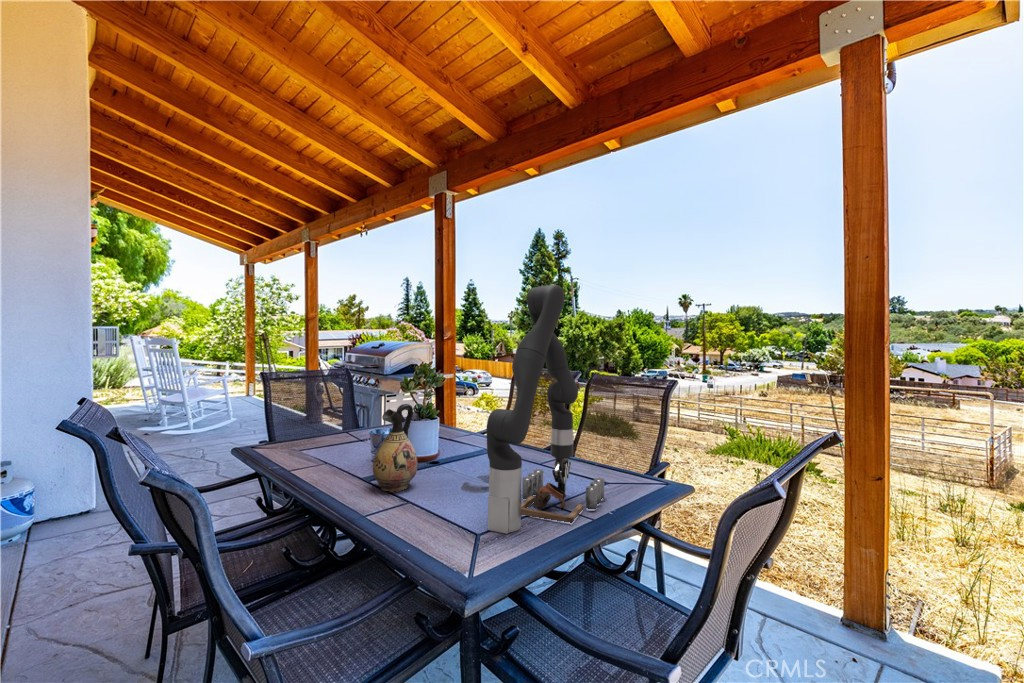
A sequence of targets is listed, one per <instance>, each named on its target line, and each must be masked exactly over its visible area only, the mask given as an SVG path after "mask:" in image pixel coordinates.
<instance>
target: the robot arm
mask: <svg viewBox="0 0 1024 683" xmlns="http://www.w3.org/2000/svg"><path fill="white" fill-rule="evenodd" d="M526 305H527V309H528V312H529V316H530V317H531V320H532V323H533V327H532V328H531V329H530V330H529V331H528V332H527V333H526V335H525V336H524V337H523V338H522V340H520V342H519V344H518V345H517V348H516V351H515V353H514V357H513V360H512V364H511V367H512V368H511V369H512V374H513V375H512V376H513V380H514V383H515V387H516V398H515V403H514V406H513V409H505V408H496V409H494V410H492V411H491V412H490V414H489V416H488V417H487V423H486V454H487V458H488V461H489V467H488V468H489V471H488V472H489V477H488V480H489V482H488V483H489V484H488V497H487V498H488V499H487V503H488V504H487V505H488V506H487V507H488V508H487V530H488V531H490V532H491V531H492V532H496V533H501V534H506V535H508V534H509V533H513V532H514V533H515V532H516V531H518V530H520V529H521V525H522V524H521V520H522V519H521V518H522V516H521V503H522V470H523V468H522V467H523V465H522V464H523V462H522V460H523V459H522V456H521V455H520V454H519V453H517V451H515V450H514V449H513V448H512V446H511V445H520V444H521V443H522V444H523V442H524V440H526V437H527V435H528V432H529V428H530V424H531V418H532V414H533V409H534V408H533V407H534V402H535V397H536V395H537V394H536V393H537V389H538V386H539V381H540V380H541V375H542V372H543V370H544V366H545V365H546V370H547V374H548V376H550V377H551V378H553V379H555V380H556V381H553V382H551V383H550V384H549V386H548V388H547V392H546V393H547V394H546V396H547V402H548V406H549V410H550V413H551V429H550V455H551V457H553V458H554V459H555V462H554V469H552V475H553V478H554V479H553V480H554V482H555V483H557V487H558V488H559V489H561V490H562V491H563V492H564V493H565V494H566V483H567V480H568V479H569V474H570V469H571V464H572V462H571V461H570V460H569V458H573V457H574V428H573V427H574V421H573V420H574V416H573V412H572V411H571V410H569V409H567V408H566V407H565V404H566V405H571V404H574V403H575V402H576V401H577V399H578V397H579V396H578V395H579V389H578V385H577V382H576V381H575V378H574V376H573V374H572V372H571V370H570V369H569V363H568V358H567V354H566V350H565V348H564V345H563V344H562V342H561V341H560V339H559V337H557V335H556V334H555V332H554V331H555V328H556V326H557V324H558V322H559V319H560V317H561V314H562V312H563V308H564V306H565V293H564V290H563V288H562V287H561V286H559V285H558V284H548V285H542V286H541V285H540V286H535V287H532V288H530V289H529V290H528V292H527V294H526ZM510 444H511V445H510Z"/></svg>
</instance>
